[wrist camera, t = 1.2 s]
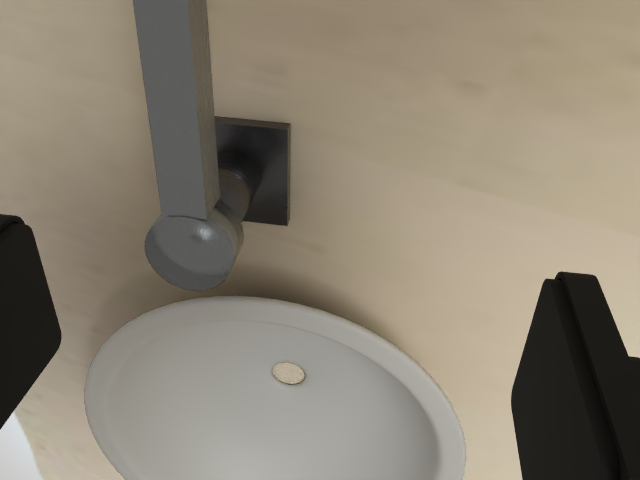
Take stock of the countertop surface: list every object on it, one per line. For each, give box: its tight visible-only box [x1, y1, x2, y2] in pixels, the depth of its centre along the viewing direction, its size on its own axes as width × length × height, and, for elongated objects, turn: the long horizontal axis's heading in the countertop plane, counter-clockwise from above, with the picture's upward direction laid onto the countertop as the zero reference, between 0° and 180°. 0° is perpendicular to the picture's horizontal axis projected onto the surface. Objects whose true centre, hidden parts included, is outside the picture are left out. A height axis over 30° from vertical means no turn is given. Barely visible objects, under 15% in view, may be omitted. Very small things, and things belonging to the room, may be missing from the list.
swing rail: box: [133, 0, 244, 291], centre depth 24 cm, size 18×4×3 cm, turn 178°
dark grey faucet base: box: [214, 116, 291, 226], centre depth 32 cm, size 6×6×6 cm
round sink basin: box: [85, 296, 466, 480], centre depth 40 cm, size 24×24×7 cm
